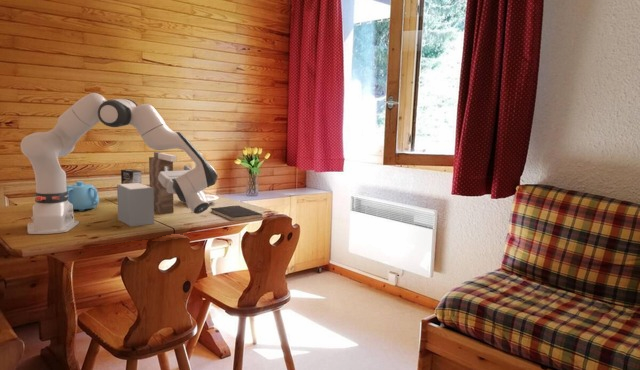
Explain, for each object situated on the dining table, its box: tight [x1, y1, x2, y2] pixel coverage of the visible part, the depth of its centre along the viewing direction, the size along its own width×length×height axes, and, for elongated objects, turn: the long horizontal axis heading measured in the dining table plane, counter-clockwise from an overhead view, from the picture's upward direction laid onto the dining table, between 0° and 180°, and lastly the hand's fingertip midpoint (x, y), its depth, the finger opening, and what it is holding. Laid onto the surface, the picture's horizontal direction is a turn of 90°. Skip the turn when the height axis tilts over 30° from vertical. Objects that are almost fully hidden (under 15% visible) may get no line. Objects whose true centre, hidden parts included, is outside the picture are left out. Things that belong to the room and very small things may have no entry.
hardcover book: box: [210, 205, 263, 222], centre depth 230 cm, size 16×23×2 cm
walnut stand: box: [148, 156, 175, 215], centre depth 230 cm, size 14×6×26 cm, turn 41°
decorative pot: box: [66, 180, 100, 212], centre depth 229 cm, size 16×16×14 cm
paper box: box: [116, 182, 155, 227], centre depth 207 cm, size 16×10×16 cm, turn 41°
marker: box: [153, 151, 178, 163], centre depth 224 cm, size 20×3×3 cm, turn 41°
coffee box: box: [120, 168, 142, 184], centre depth 257 cm, size 9×6×16 cm
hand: (175, 167), depth 215 cm, fingers open, 8 cm apart
